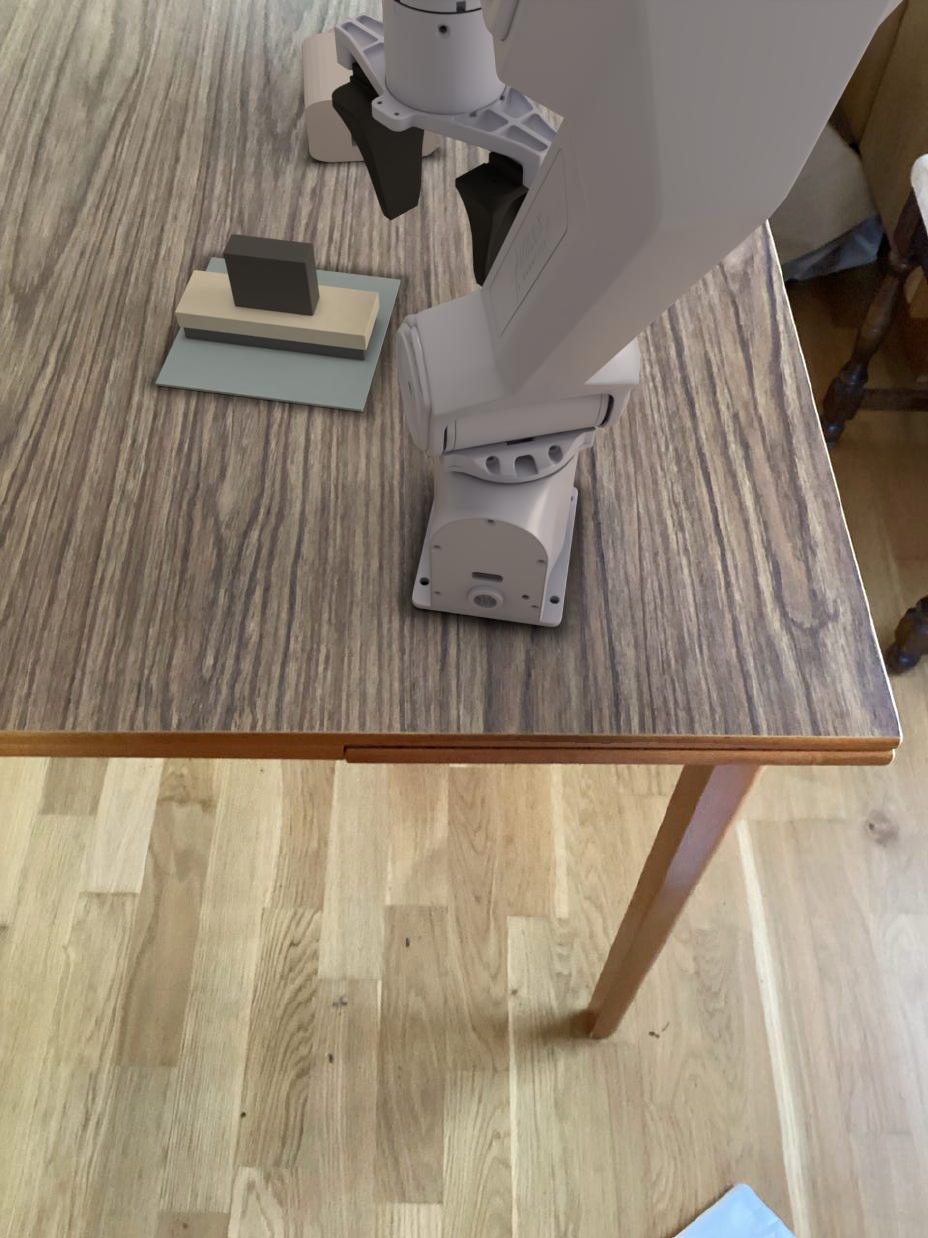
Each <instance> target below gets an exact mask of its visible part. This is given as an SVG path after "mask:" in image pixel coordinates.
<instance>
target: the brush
mask: <svg viewBox="0 0 928 1238" xmlns="http://www.w3.org/2000/svg"><path fill="white" fill-rule="evenodd" d="M222 255H223V258H224V259H225V263H226V268H227V272H228V274H223V273H215V272H207V271H206V270H199V269H198V270H197V269H193V271H192V274H191V276H190V278H189V279H188V282H187V285H186V286H185V289H184V291H183V293H182V296H181V297H180V300H179V302H178V304H177V306H176V309H175V311H174V313H175V317H176V321H177V325H178V327H179V328H180V327H183V328H184V332H185V335H186V338H191V339H199V340H206V341H214V342H222V343H230V344H238V345H246V346H254V347H262V348H269V349H277V350H285V351H293V352H301V353H309V354H317V355H325V356H332V357H340V358H348V359H356V360H365V357H366V354H367V351H368V347H369V344H370V341H371V337H372V334H373V331H374V327H375V324H376V321H377V313H378V310H379V294H378V292H371V291H363V290H354V289H346V288H338V287H330V286H322V285H318V280H317V273H316V270H317V266H316V259H315V250H314V244H313V243H311V242H302V241H294V240H287V239H286V240H285V239H277V238H269V237H261V236H253V235H244V234H236V233H231V234H230V236H229V239H228V240H227V243H226V245H225V248H224V250H223V252H222Z"/></svg>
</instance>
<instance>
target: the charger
mask: <svg viewBox="0 0 928 1238" xmlns="http://www.w3.org/2000/svg"><path fill="white" fill-rule="evenodd" d="M349 18H352V17H351V16H347V17H346V19H345V20H347V19H349ZM301 57H302V78H303V79H302V81H303V98H304V99H303V100H304V117H305V125H306V126H305V127H306V132H307V141H308V142H307V143H308V148H309V151H308V152H309V154H310V156H311V157H312V158H313V159H315V160H317V161H320V162H325V163H345V162H346V163H347V162H360V161H362V162H364V159H363V157H362V155H361V152H360V150H359V148H358V146H357V144H356V142H355V140H354V138H353V136H352V135H351V133H350V131H349V130H348V128H347V126H346V125H345V123H344V122H343V120H342V119H341V117H340V116H339V115H338V113H337V112H336V110H335V109H334V108H333V106H332V93H333V91H334V90H335V89H337V88H338V87H340V86H342V85H344V84H346V83H348V82H350V76H351V75H353V71H352V70H348V69H346V68H344V67H343V66H341V65H340V64H338V63H337V54H336V43H335V32H334V27H331V28H330V29H329V30H328V31H327V32H321V33H315V34H312V35H309V36H307V37H306V38H305V39H304V40H303V41H302V43H301ZM436 147H437V133H433V132H430V131H427V130H425V131H424V138H423V147H422V157H425V156H428V155H430V154H432V153H433V152H434V151H435V150H436Z"/></svg>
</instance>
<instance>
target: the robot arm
mask: <svg viewBox="0 0 928 1238" xmlns="http://www.w3.org/2000/svg"><path fill="white" fill-rule="evenodd" d="M903 1H904V0H381V9H382V10H381V11H382V14H381V15H382V20H381V19H378V18H376V17H374V16H372V15H370V14H369V13H367V12H365V11H363V12H361V13H358V14H356V15H354V16H352V17H351V18H349V19H347V18H346V19H347V20H346V19H345V20H343V21H341V22H339V23H336V24H335V25H333V28H334V32H335V43H336V54H337V63H338V64H340V65H341V66H343V67H344V68H346V69H348V70H352V71H353V75H351V76H350V82H348V83H346V84H344V85H342V86H340V87H338V88H337V89H335V90H334V91H333V93H332V106H333V108H334V109H335V110H336V112H337V113H338V115H339V116H340V117H341V119H342V120H343V122H344V123H345V125H346V126H347V128H348V130H349V131H350V133H351V135H352V136H353V138H354V140H355V142H356V144H357V146H358V148H359V150H360V152H361V155H362V157H363V159H364V161H363V162H364V165H365V167H366V169H367V172H368V175H369V178H370V181H371V184H372V187H373V189H374V192H375V196H376V198H377V201H378V204H379V207H380V210H381V212H382V214H383V216H384V217H385V218H386V219H388V220H389V221H393V220H395V219H397V218H398V217H400V216H402V215H404V214H405V213H407V212H409V211H411V210H414V209H415V208H416V207H418V206H419V202H420V196H421V191H422V177H423V176H422V174H423V173H422V172H423V171H422V170H423V156H422V147H423V138H424V131H425V130H427V131H430V132H433V133H436V135H440V136H443V137H446V138H449V139H452V140H455V141H459V142H462V143H464V144H468V145H471V146H474V147H478V148H481V149H484V150H487V151H489V153H488V162H483V163H480V164H479V165H477V166H476V167H473V168H472V169H470V170H468V171H466V172H465V173H463V174H461V175H459V176H457V177H455V179H454V187H455V189H456V190H457V192H458V194H459V196H460V199H461V201H462V203H463V206H464V209H465V211H466V215H467V219H468V223H469V229H470V235H471V247H472V248H471V249H472V250H471V251H472V270H473V275H474V280H475V283H476V284H477V285H479V286H480V287H481V288H479V289H478V290H475V291H472V292H470V293H467V294H464V295H461V296H458V297H456V298H453V299H449V300H448V301H447V300H446V301H445V302H442V303H440V304H439V303H438V304H437V305H434V306H432V307H431V306H430V307H429V308H425V309H423V310H422V311H419V312H417V313H412V314H408V315H406V316H405V317H404V319H403V321H402V323H401V325H400V326H399V327H398V329H397V331H396V333H395V357H396V358H395V359H396V367H397V376H398V383H399V390H400V395H401V401H402V405H403V410H404V415H405V419H406V424H407V427H408V431H409V434H410V437H411V439H412V443H413V444H414V445H415V446H416V448H418V449H419V450H421V451H422V452H423V453H424V454H425V455H426V456H427V457H428V458H433V501H432V504H431V505H432V506H431V510H430V514H429V519H428V523H427V527H426V532H425V537H424V542H423V546H422V550H421V554H420V557H419V558H420V559H419V562H418V567H417V572H416V576H415V581H414V585H413V590H412V594H411V602H412V604H413V606H414V607H416V608H418V609H423V610H429V611H430V610H431V611H438V612H443V613H450V614H451V613H452V614H459V615H464V616H465V615H466V616H472V617H480V618H485V619H486V618H487V619H492V620H501V621H506V622H515V623H520V624H521V623H522V624H527V625H536V626H541V627H548V628H549V627H550V628H555V627H557V626H559V625H560V624H561V622H562V620H563V619H562V618H563V610H564V604H565V596H566V588H567V579H568V573H569V565H570V558H571V549H572V541H573V535H574V527H575V518H576V511H577V503H578V495H579V492H578V491H579V490H578V489H577V487H575V486H574V484H575V477H576V472H577V465H578V461H579V460H578V459H579V453H580V452H581V451H583V450H586V449H591V448H593V446H594V441H595V436H596V430H597V428H601V429H605V428H606V429H607V428H610V427H613V426H615V425H617V423H618V422H619V421H620V419H621V417H622V415H623V413H624V411H625V410H626V408H627V406H628V403H629V401H630V398H631V392H632V389H633V388H634V387H637V385H638V384H639V383H640V380H641V379H640V373H641V371H642V370H641V369H642V365H641V355H640V346H639V339H638V338H639V337H638V336H639V335H640V334H642V333H643V332H644V331H645V330H646V329H647V328H648V327H649V326H650V325H652V324H653V323H654V322H656V320H657V319H658V318H659V317H661V316H662V315H663V314H664V313H665V312H666V311H667V310H669V309H670V308H671V307H672V306H673V305H674V304H675V303H676V302H678V300H679V299H681V298H682V297H683V296H684V295H685V294H686V293H687V292H689V290H691V289H692V288H693V287H694V286H696V284H697V283H699V282H700V281H701V280H702V279H703V278H704V277H705V276H706V275H707V274H708V273H709V272H711V271H712V270H713V269H714V268H715V267H716V266H718V264H720V263H721V262H722V261H723V260H724V259H725V258H726V257H727V256H729V255H730V254H731V253H732V252H733V251H734V250H735V249H737V247H739V246H740V245H741V244H742V243H744V242H745V241H746V239H748V238H749V237H750V236H751V235H752V234H753V233H754V232H755V231H757V230H758V229H759V228H760V227H761V226H762V225H763V224H765V222H767V220H769V219H770V218H771V217H772V216H773V214H774V213H775V212H776V211H777V209H778V208H779V207H780V206H781V204H782V203H783V202H784V201H785V199H786V198H787V196H788V195H789V193H790V192H791V190H792V188H793V187H794V185H795V183H796V181H797V179H798V177H799V175H800V174H801V172H802V170H803V168H804V166H805V164H806V163H807V160H808V159H809V157H810V155H811V153H812V151H813V150H814V148H815V146H816V144H817V142H818V140H819V138H820V137H821V134H822V132H823V130H824V129H825V128H826V125H827V123H828V122H829V119H830V118H831V116H832V114H833V112H834V110H835V109H836V106H837V105H838V103H839V100H840V99H841V98H842V95H843V94H844V91H845V90H846V88H847V86H848V83H849V82H850V80H851V78H852V77H853V75H854V73H855V71H856V69H857V68H858V66H859V63H860V62H861V60H862V58H863V56H864V54H865V52H866V51H867V49H868V47H869V45H870V43H871V41H872V39H873V37H874V35H875V34H876V32H877V30H878V28H879V26H880V25H881V24H882V23H883V22H885V20H886V19H887V18H888V17H889V16H890V15H891V14H892V13H893V12H894V10H895V9H896V8H898V6H899V5H900V4H901V3H902V2H903ZM533 101H534V102H536V103H537V104H539V105H540V106H542V107H544V108H546V109H547V110H549V111H551V112H553V113H555V114H556V115H558V116H560V117H562V118H563V119H562V121H561V123H560V124H559V127H558V129H556V128H555V127H554V126H553V125H552V124H551V123H550V122H549V121H548V120H547V118H545V116H544V115H543V114H542V112H541V111H540V110H539V108H538V107H537V106H536V105H535V103H534V102H533ZM423 582H425V583H427V584H425V585H423V584H422V583H423ZM551 601H556V602H557V603H554V602H551Z"/></svg>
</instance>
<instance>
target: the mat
mask: <svg viewBox="0 0 928 1238" xmlns="http://www.w3.org/2000/svg"><path fill="white" fill-rule="evenodd" d="M208 262H209V263H208V264H207V267H206V269H205V271H207V272H215V273H223V274H228V272H227V268H226V263H225V259H224V257H223V258H222V257H216V256H215V257H214V256H211V258H210V261H208ZM316 273H317V280H318V285H322V286H330V287H338V288H346V289H354V290H363V291H371V292H378V294H379V310H378V313H377V321H376V324H375V327H374V331H373V334H372V337H371V341H370V344H369V347H368V351H367V354H366V357H365V360H356V359H348V358H340V357H332V356H325V355H317V354H309V353H301V352H293V351H285V350H277V349H269V348H262V347H254V346H246V345H238V344H230V343H222V342H214V341H206V340H199V339H191V338H186V335H185V332H184V328H183V327H179V329H178V332H177V333H176V336H175V338H174V340H173V344H172V346H171V348H170V350H169V352H168V354H167V357H166V359H165V361H164V363H163V365H162V368H161V370H160V371H159V375H158V376H157V378H156V381H155V386H159V387H167V388H172V389H173V388H175V389H180V390H181V389H182V390H189V391H197V392H204V393H205V392H206V393H212V394H220V395H228V396H236V397H243V398H250V399H251V398H252V399H258V400H267V401H274V402H282V403H289V404H290V403H291V404H298V405H304V406H305V405H306V406H312V407H321V408H328V409H329V408H330V409H336V410H344V411H353V412H358V413H363V412H364V409H365V406H366V403H367V399H368V395H369V393H370V390H371V389H370V388H371V386H372V381H373V379H374V376H375V372H376V369H377V365H378V361H379V357H380V355H381V352H382V347H383V344H384V341H385V337H386V334H387V330H388V327H389V323H390V320H391V316H392V314H393V310H394V306H395V303H396V300H397V296H398V293H399V290H400V285H401V279H399V278H389V277H382V276H375V275H374V276H372V275H364V274H356V273H348V272H339V271H333V270H325V269H324V270H323V269H316Z"/></svg>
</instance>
